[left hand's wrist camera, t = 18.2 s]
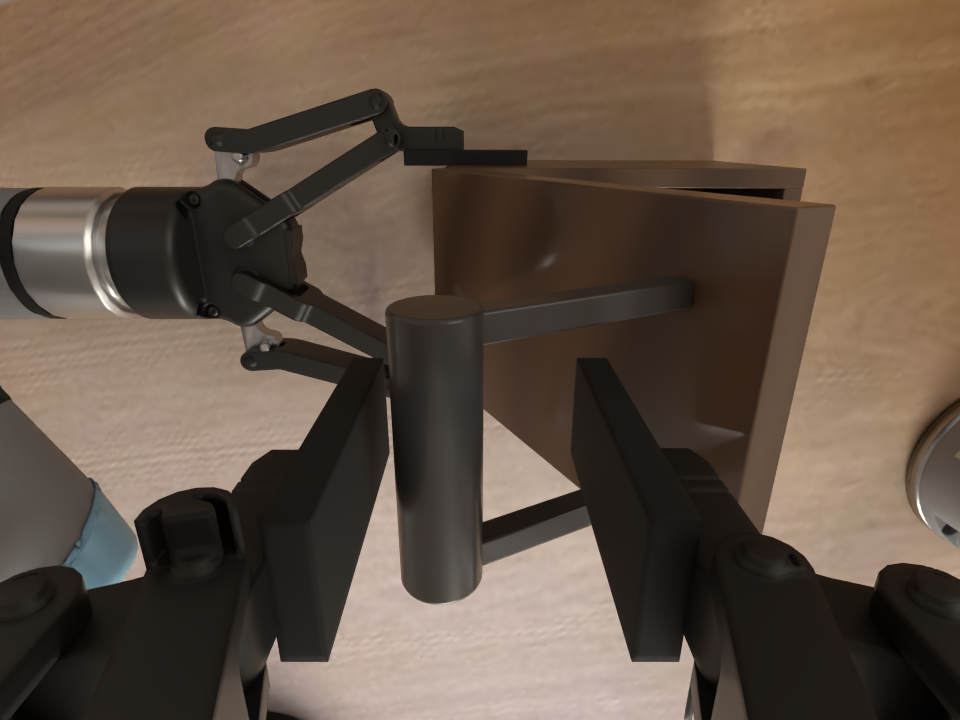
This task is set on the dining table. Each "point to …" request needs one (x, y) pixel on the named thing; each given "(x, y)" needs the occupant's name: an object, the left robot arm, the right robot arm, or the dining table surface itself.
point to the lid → (589, 346)
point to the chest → (670, 175)
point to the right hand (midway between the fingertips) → (522, 254)
